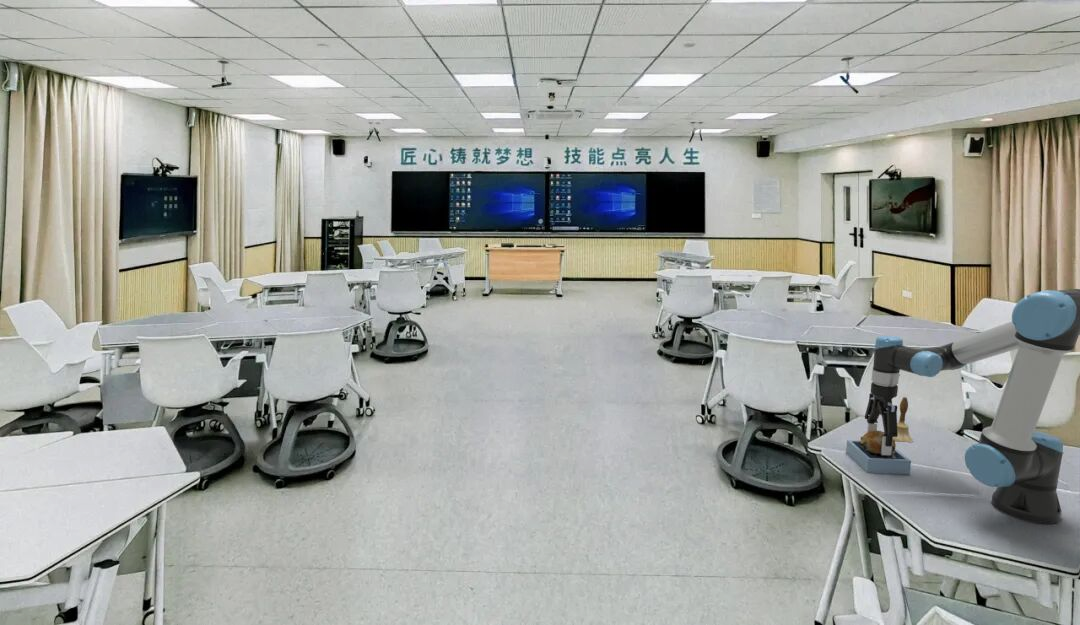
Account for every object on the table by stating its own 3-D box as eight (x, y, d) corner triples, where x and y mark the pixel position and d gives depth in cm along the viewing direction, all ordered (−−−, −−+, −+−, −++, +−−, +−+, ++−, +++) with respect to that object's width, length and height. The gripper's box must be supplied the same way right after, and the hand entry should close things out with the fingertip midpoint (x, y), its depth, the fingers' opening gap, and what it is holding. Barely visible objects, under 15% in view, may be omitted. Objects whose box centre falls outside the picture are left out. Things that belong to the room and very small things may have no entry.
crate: (909, 477, 185) (911, 460, 184) (866, 475, 186) (868, 459, 185) (885, 456, 201) (886, 441, 200) (845, 455, 202) (847, 440, 201)
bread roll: (885, 467, 187) (899, 448, 184) (854, 447, 192) (868, 428, 189) (888, 456, 195) (903, 438, 192) (859, 438, 200) (872, 420, 197)
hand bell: (912, 437, 218) (917, 396, 216) (912, 444, 211) (917, 402, 209) (887, 432, 223) (891, 392, 220) (886, 439, 216) (890, 398, 213)
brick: (895, 469, 188) (896, 458, 187) (872, 468, 189) (873, 457, 188) (880, 457, 198) (881, 445, 197) (858, 456, 199) (859, 445, 198)
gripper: (915, 394, 177) (907, 463, 181) (880, 374, 199) (874, 436, 203) (889, 393, 178) (882, 462, 182) (857, 373, 200) (851, 435, 204)
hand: (878, 448), depth 192 cm, fingers closed on bread roll, 10 cm apart
